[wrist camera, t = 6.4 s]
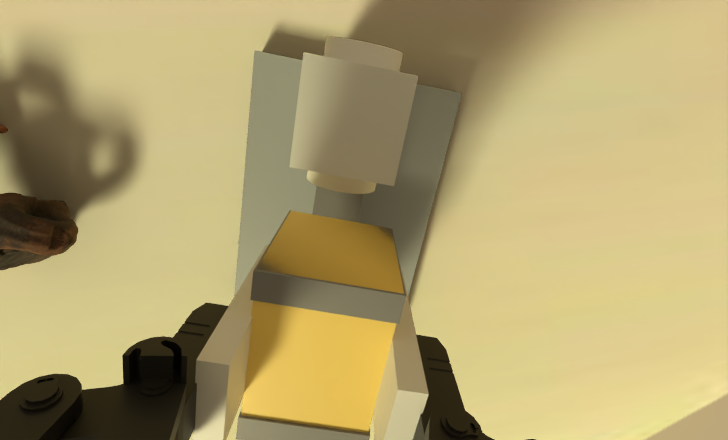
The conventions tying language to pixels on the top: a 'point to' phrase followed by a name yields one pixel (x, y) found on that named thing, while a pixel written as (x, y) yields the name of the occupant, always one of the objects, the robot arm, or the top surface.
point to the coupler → (320, 329)
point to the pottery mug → (32, 228)
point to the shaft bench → (300, 192)
